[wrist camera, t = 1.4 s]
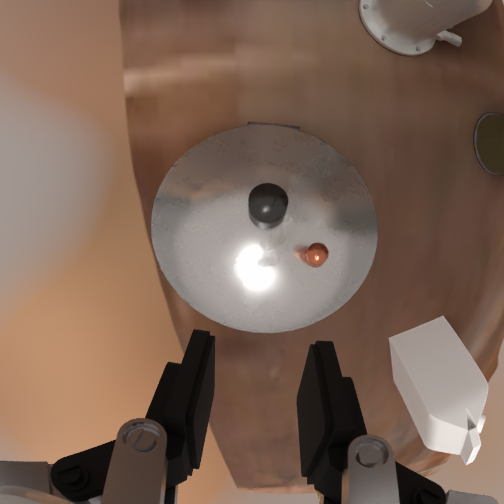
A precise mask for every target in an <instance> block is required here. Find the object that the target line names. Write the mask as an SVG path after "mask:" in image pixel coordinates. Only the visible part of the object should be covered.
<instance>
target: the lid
mask: <svg viewBox="0 0 504 504" xmlns="http://www.w3.org/2000/svg"><path fill="white" fill-rule="evenodd" d="M299 130H300V127H297V126H288V125H279V124H269V123H257V122H248V126H243V127H237V128H233V129H229V130H226V131H222V132H220V133H217V134H215V135H212V136H210V137H208V138H207V139H205V140H203V141H201V142H199V143H198V144H196V145H195V146H194V147H192V148H191V149H189V150H188V151H187V152H186V153H185V154H184V155H183V156H181V157H180V158H179V159H178V161H177V162H176V163H175V164H174V165H173V166H172V167H171V169H170V170H169V172H168V173H167V175H166V176H165V178H164V180H163V182H162V184H161V186H160V188H159V190H158V193H157V196H156V199H155V202H154V206H153V212H152V222H151V232H152V241H153V246H154V250H155V254H156V257H157V260H158V262H159V265H160V267H161V269H162V271H163V273H164V275H165V276H166V278H167V280H168V281H169V283H170V284H171V286H172V287H173V288H174V289H175V290H176V292H177V293H178V294H179V295H180V296H181V297H182V298H183V299H184V300H185V301H186V302H187V303H189V304H190V305H191V306H192V307H193V308H194V309H195V310H197V311H198V312H200V313H201V314H203V315H205V316H206V317H208V318H209V319H211V320H213V321H216V322H218V323H220V324H222V325H224V326H228V327H231V328H234V329H237V330H242V331H248V332H254V333H278V332H287V331H292V330H295V329H299V328H303V327H306V326H308V325H311V324H313V323H315V322H318V321H320V320H322V319H324V318H325V317H327V316H329V315H330V314H332V313H333V312H335V311H336V310H338V309H339V308H340V307H341V306H343V305H344V304H345V303H346V302H347V301H348V300H349V299H350V298H351V297H352V296H353V295H354V294H355V292H356V291H357V290H358V289H359V287H360V286H361V284H362V283H363V281H364V280H365V278H366V276H367V274H368V272H369V270H370V268H371V265H372V262H373V259H374V256H375V252H376V246H377V239H378V224H377V217H376V211H375V207H374V204H373V200H372V197H371V195H370V193H369V190H368V188H367V186H366V184H365V183H364V181H363V179H362V178H361V176H360V175H359V173H358V172H357V171H356V169H355V168H354V167H353V165H352V164H351V163H350V162H349V161H348V160H347V159H346V158H345V157H344V156H343V155H341V154H340V153H339V152H338V151H337V150H335V149H334V148H333V147H331V146H330V145H328V144H327V143H325V142H323V141H322V140H320V139H318V138H316V137H314V136H312V135H309V134H307V133H304V132H301V131H299Z"/></svg>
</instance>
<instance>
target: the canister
mask: <svg viewBox="0 0 504 504" xmlns="http://www.w3.org/2000/svg"><path fill="white" fill-rule="evenodd" d="M474 147H475V152H476V156H477V158H478V160H479V162H480V164H481V165H482V167H483V168H484V169H485V170H486V171H488V172H489V173H491V174H499V175H503V176H504V115H497V114H494V113H487V114H485V115H483V116H482V117H481V118H480V119H479V121H478V123H477V124H476V127H475V132H474Z"/></svg>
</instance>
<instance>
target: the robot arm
mask: <svg viewBox="0 0 504 504" xmlns="http://www.w3.org/2000/svg"><path fill="white" fill-rule="evenodd" d="M491 2H492V0H360V2H359V14H360V18H361V20H362V23H363V25H364V26H365V28H366V30H367V31H368V32H369V34H370V35H371V36H372V37H373V38H374V39H375V40H376V41H377V42H378V43H380V44H381V45H382V46H384V47H385V48H387V49H389V50H391V51H393V52H395V53H398V54H401V55H406V56H416V55H420V54H423V53H425V52H427V51H428V50H430V49H431V48H432V47H433V45H434V43H435V41H436V39H437V40H439V41H443V40H445V41H447V42H448V43H451V44H453V45H455V46H457V47H459V46H460V45H461V43H462V39H461V37H460V36H458V35H456V34H454V33H452V32H448V31H446V29H448V28H450V29H452V28H453V26H454V25H456V24H459V23H461V22H463V21H465V20H467V19H469V18H471V17H473V16H476V15H478V14H480V13H482V12H483V11H485V10H486V9H487V8H488V7H489V6H490V4H491ZM364 8H365V9H364ZM382 39H383V40H382ZM214 387H215V336H210V332H209V331H203V330H195V329H194V330H193V333H192V335H191V338H190V341H189V344H188V346H187V349H186V352H185V355H184V357H183V360H182V363H181V364H178V363H172V362H168V363H167V365H166V367H165V369H164V372H163V374H162V377H161V379H160V381H159V384H158V387H157V389H156V391H155V394H154V397H153V399H152V401H151V404H150V406H149V409H148V412H147V414H146V417H145V418H137V419H133V420H130V421H128V422H126V423H125V424H124V425H122V427H121V428H120V429H119V432H118V434H117V438H116V440H113V441H110V442H108V443H105V444H102V445H100V446H97V447H94V448H91V449H88V450H85V451H82V452H80V453H76V454H73V455H70V456H67V457H64V458H61V459H60V460H58V461H57V462H56V463H55V464H48V463H47V462H23V461H0V504H177V494H178V484H180V483H182V482H184V481H186V480H187V476H188V475H190V476H192V472H193V468H194V469H199V467H200V462H201V457H202V451H203V447H204V442H205V436H206V432H207V427H208V422H209V417H210V412H211V407H212V402H213V397H214ZM297 414H298V428H299V442H300V458H301V474H302V477H307V484H314V488H315V490H317V491H318V492H320V502H319V504H498V502H497V500H496V499H494V498H493V497H491V496H486V495H478V494H471V493H465V492H459V491H453V490H450V491H448V492H444V490H443V489H442V487H441V486H439V485H438V484H436V483H435V482H433V481H431V480H429V479H427V478H425V477H423V476H421V475H419V474H417V473H416V472H414V471H412V470H410V469H408V468H407V467H405V466H403V465H401V464H399V463H398V462H396V461H395V459H394V452H393V449H392V447H391V445H390V444H389V443H388V442H387V441H386V440H385V439H383V438H381V437H379V436H376V435H367V431H366V427H365V423H364V420H363V416H362V412H361V409H360V405H359V401H358V398H357V394H356V391H355V387H354V384H353V381H352V378H350V377H342V374H341V370H340V367H339V363H338V359H337V355H336V352H335V348H334V344H333V342H332V341H316V343H315V345H314V344H311V345H310V347H309V352H308V356H307V360H306V364H305V368H304V372H303V375H302V379H301V383H300V387H299V391H298V394H297Z"/></svg>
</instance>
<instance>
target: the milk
mask: <svg viewBox="0 0 504 504" xmlns="http://www.w3.org/2000/svg"><path fill="white" fill-rule="evenodd" d="M389 344H390V352H391V361H392V370H393V380H394V382H395V384H396V386H397V388H398V390H399V392H400V394H401V396H402V398H403V400H404V402H405V404H406V406H407V409H408V411H409V413H410V415H411V417H412V419H413V421H414V423H415V425H416V428H417V430H418V432H419V434H420V436H421V438H422V441H423V443H424V444H425V446H426V447H427V448H429V449H431V450H435V451H440V452H445V453H451V454H457V455H460V456H461V458H462V459H463V461H464V463H465V464H466V465H467V464H469V463H471V462H473V461H474V459H475V457H476V455H477V453H478V450H479V448H480V446H481V441H480V437H479V434H478V433H481V430H482V428H483V425H484V422H485V419H486V416H484V415H482V412H483V409H484V406H485V402H486V399H487V395H488V383H487V381H486V379H485V377H484V376H483V374H482V372H481V371H480V369H479V368H478V366H477V364H476V363H475V361H474V360H473V358H472V357H471V355H470V354H469V352H468V350H467V349H466V347H465V346H464V344H463V343H462V341H461V340H460V339H459V337H458V336H457V334H456V333H455V331H454V330H453V328H452V327H451V326H450V324H449V323H448V321H447V320H446V319H445V317H444V316H441V317H439V318H436V319H434V320H432V321H430V322H427V323H425V324H422V325H420V326H418V327H415V328H413V329H410V330H408V331H405V332H403V333H400V334H398V335H395V336H392V337H390V338H389Z"/></svg>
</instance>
